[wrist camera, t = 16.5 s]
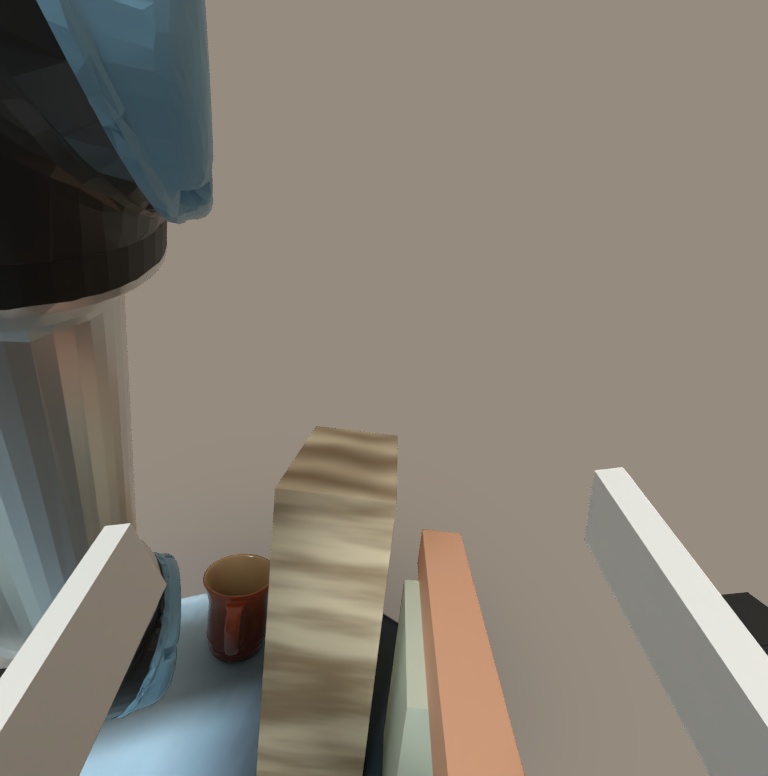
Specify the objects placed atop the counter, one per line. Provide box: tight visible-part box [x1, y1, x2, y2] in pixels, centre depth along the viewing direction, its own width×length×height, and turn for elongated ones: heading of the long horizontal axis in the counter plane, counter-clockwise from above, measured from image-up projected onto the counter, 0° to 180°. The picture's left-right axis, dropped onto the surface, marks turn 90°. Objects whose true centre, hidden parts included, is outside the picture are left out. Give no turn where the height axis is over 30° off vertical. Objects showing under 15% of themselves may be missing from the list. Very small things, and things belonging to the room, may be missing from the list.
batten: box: [418, 529, 525, 776], centre depth 32 cm, size 28×4×4 cm, turn 178°
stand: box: [256, 426, 397, 776], centre depth 47 cm, size 18×10×30 cm, turn 178°
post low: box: [382, 579, 433, 776], centre depth 38 cm, size 14×7×19 cm, turn 178°
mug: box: [203, 554, 270, 661], centre depth 54 cm, size 12×9×10 cm
